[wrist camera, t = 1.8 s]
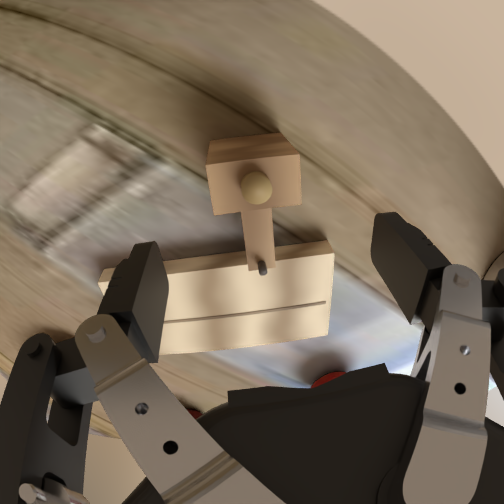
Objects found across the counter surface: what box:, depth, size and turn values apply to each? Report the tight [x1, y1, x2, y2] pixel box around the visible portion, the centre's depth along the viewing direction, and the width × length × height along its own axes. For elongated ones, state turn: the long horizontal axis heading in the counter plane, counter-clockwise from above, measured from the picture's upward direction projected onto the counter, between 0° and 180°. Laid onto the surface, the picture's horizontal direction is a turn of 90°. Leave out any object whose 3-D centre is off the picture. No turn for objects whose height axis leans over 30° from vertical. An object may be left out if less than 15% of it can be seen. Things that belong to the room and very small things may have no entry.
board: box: [98, 240, 334, 355], centre depth 28 cm, size 20×10×2 cm, turn 96°
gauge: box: [206, 132, 302, 276], centre depth 20 cm, size 5×9×7 cm, turn 6°
